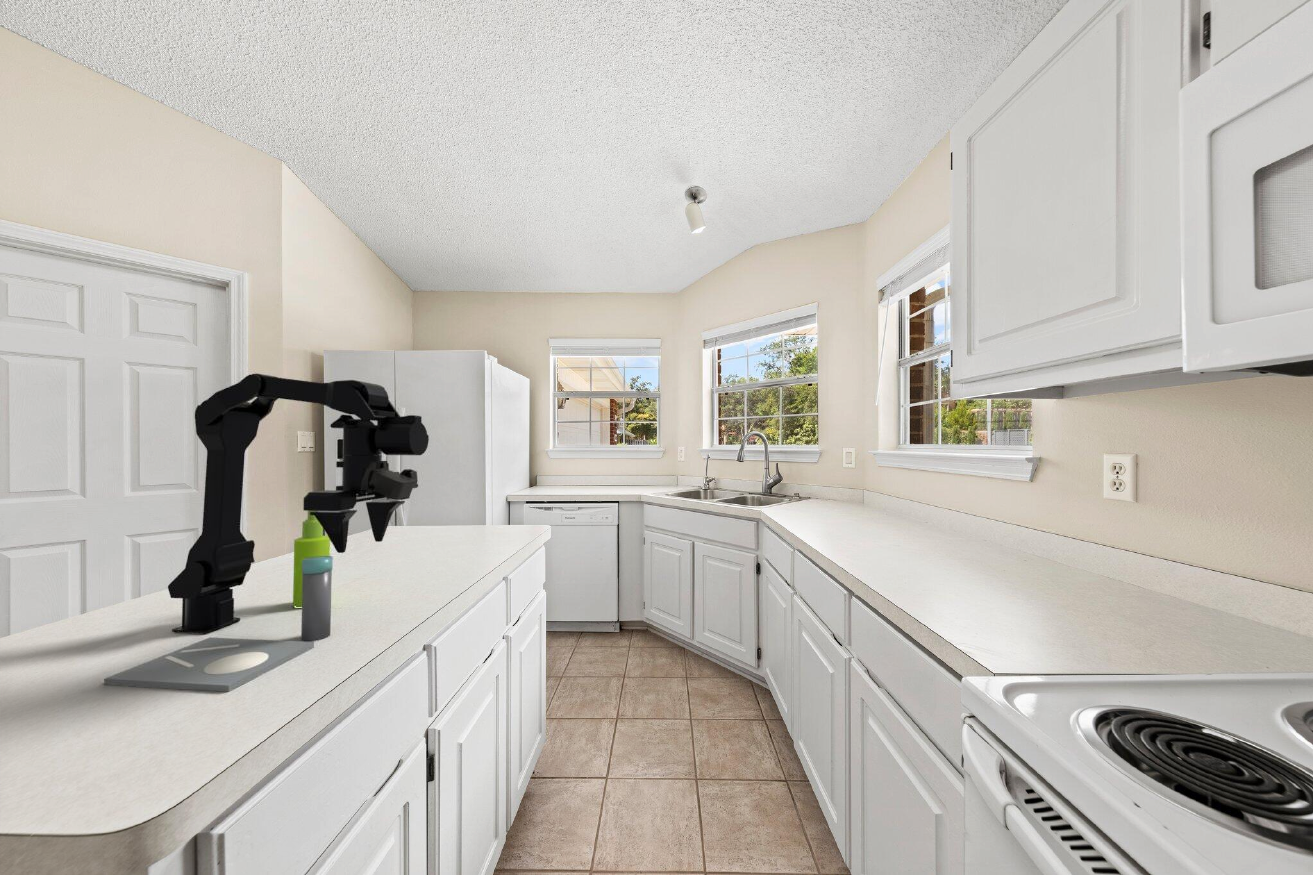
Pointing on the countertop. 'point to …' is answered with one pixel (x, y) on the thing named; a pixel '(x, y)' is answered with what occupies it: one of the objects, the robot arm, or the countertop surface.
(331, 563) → the marker
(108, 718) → the countertop surface
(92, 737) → the countertop surface
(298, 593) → the soap dispenser
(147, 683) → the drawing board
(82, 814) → the countertop surface
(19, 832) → the countertop surface
